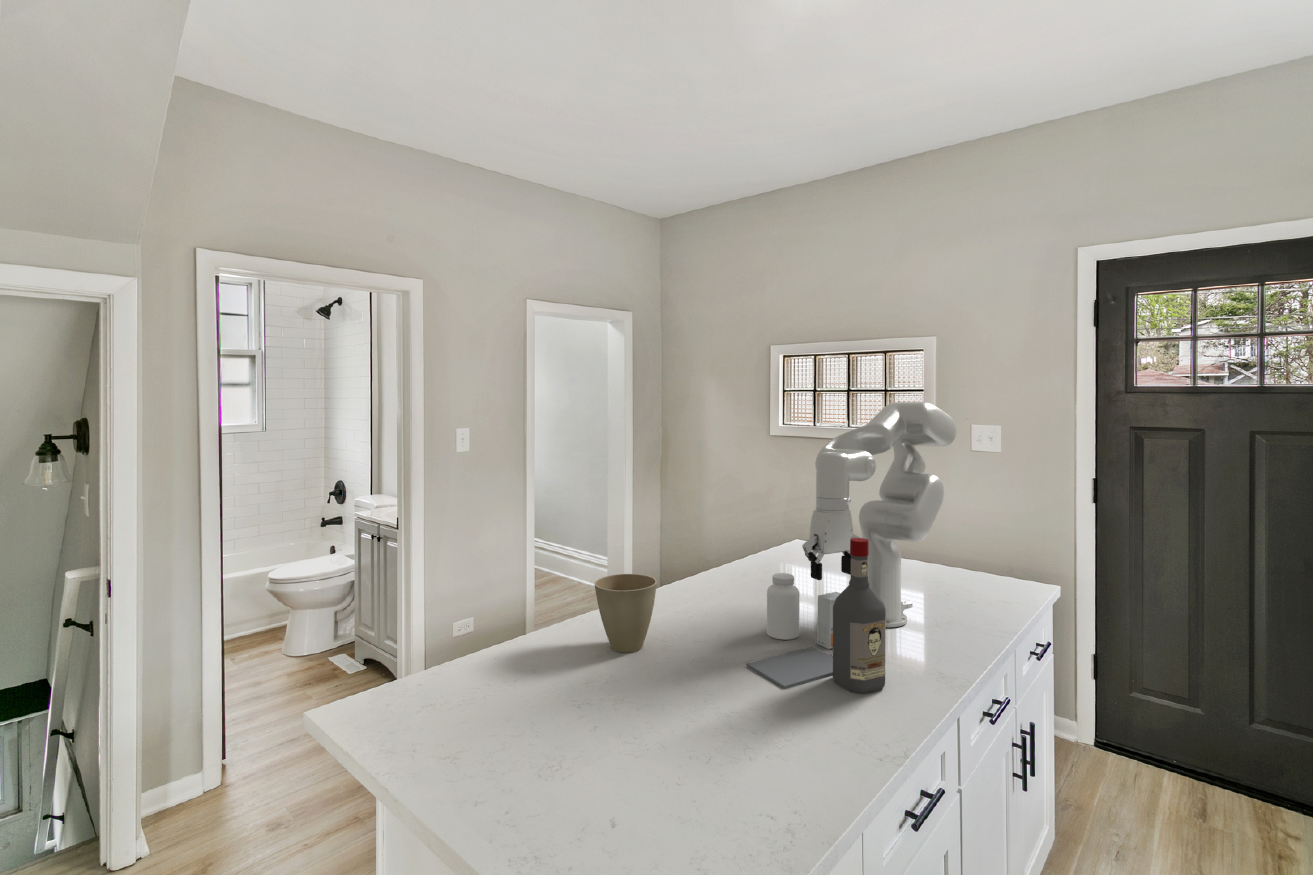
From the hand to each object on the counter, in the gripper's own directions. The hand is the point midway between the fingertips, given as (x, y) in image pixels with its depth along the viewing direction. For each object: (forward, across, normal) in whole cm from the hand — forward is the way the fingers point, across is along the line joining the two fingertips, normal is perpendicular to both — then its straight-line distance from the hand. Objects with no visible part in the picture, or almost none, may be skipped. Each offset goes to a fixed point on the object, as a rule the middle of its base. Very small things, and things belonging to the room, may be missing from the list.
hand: (831, 576), depth 152 cm
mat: (+17, +15, +6) cm, 23 cm away
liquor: (+17, +10, +18) cm, 27 cm away
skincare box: (+17, -1, 0) cm, 17 cm away
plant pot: (+17, +42, -24) cm, 52 cm away
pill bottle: (+17, +5, -11) cm, 21 cm away
